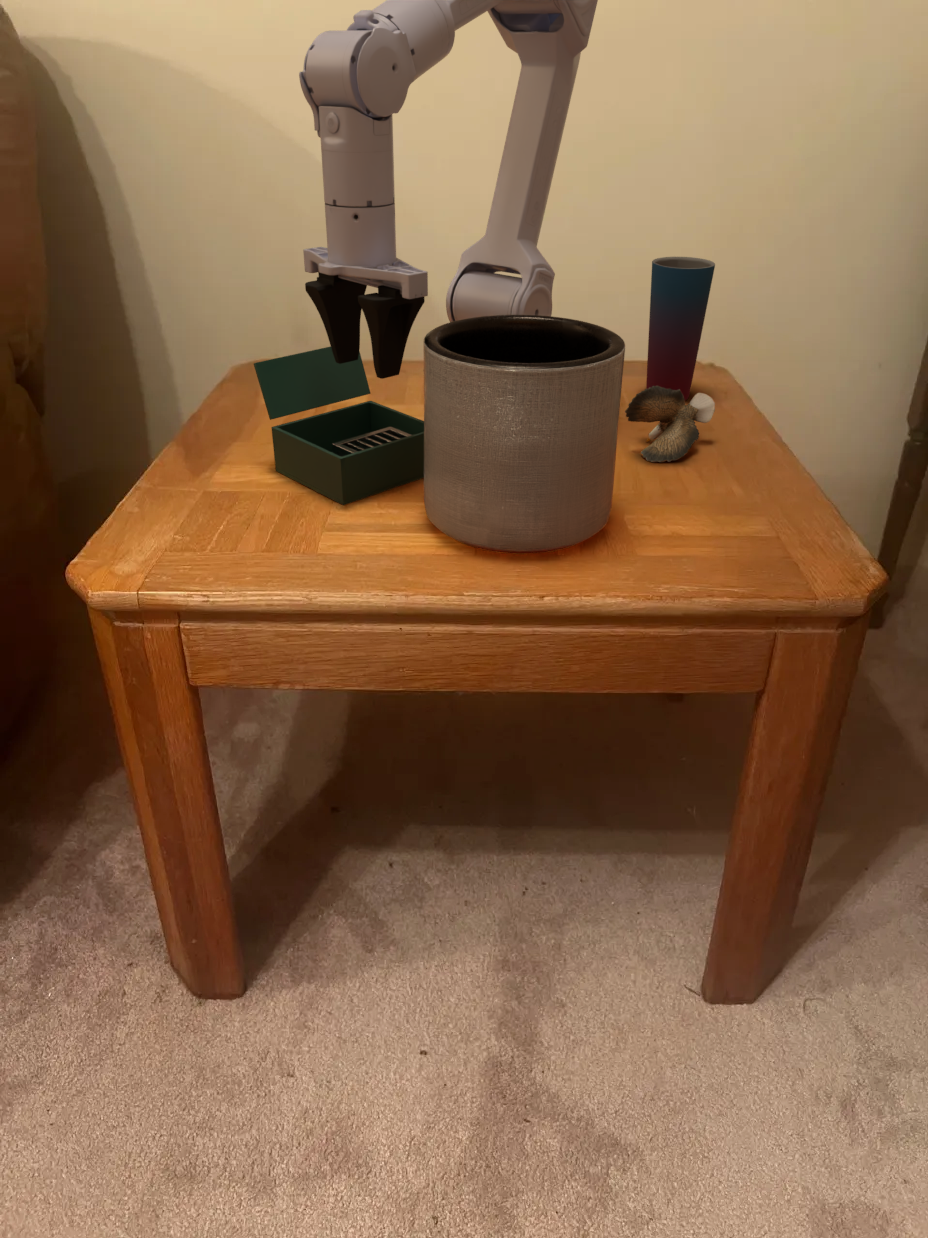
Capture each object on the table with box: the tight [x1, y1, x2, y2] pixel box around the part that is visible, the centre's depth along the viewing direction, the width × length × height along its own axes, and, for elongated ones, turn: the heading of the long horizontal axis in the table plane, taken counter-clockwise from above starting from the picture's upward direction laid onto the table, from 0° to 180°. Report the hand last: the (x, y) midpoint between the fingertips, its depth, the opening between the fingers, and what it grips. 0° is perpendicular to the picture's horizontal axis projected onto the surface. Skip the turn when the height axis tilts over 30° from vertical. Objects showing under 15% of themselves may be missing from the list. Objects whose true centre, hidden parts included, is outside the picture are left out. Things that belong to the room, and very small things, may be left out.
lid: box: [253, 345, 372, 421], centre depth 91 cm, size 5×12×1 cm
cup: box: [645, 256, 716, 401], centre depth 108 cm, size 7×7×15 cm
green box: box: [271, 400, 424, 506], centre depth 90 cm, size 11×12×4 cm
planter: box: [422, 315, 626, 555], centre depth 78 cm, size 16×16×16 cm
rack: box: [332, 427, 411, 457], centre depth 88 cm, size 7×5×3 cm, turn 133°
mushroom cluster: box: [624, 386, 716, 463], centre depth 96 cm, size 8×7×9 cm
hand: (367, 368), depth 84 cm, fingers open, 5 cm apart
